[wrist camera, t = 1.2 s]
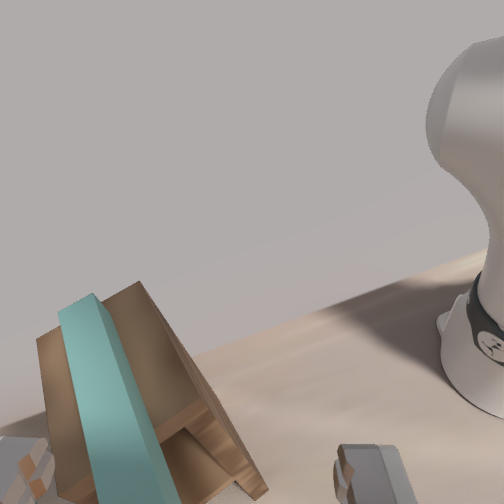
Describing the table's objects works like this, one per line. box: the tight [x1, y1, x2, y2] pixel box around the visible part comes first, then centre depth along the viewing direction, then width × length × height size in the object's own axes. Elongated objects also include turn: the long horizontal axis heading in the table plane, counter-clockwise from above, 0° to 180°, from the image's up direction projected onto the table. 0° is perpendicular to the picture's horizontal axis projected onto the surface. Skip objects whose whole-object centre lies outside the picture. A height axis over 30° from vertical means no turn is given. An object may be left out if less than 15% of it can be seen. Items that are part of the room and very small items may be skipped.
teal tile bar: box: [58, 293, 182, 504], centre depth 23 cm, size 3×21×3 cm, turn 32°
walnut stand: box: [36, 281, 269, 504], centre depth 36 cm, size 10×14×26 cm
